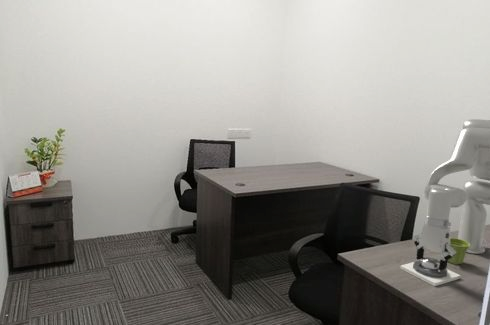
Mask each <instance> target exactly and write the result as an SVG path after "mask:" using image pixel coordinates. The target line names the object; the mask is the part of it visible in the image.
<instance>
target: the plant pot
mask: <svg viewBox="0 0 490 325" xmlns="http://www.w3.org/2000/svg"><path fill="white" fill-rule="evenodd" d="M450 246H451V247H452V248H453V249H454V250H455V251H456V254H455V255H454V256H453V258H451V259H449V260H448V262H449V263H451V264H454V265H459V264H460V265H462V264H463V262H464V259H465V258H466V253H467V252H466V251H467V249H468V247H469V246H470V243H468V242H466V241H464V240H461V239H458V237H457V238H454V237H450ZM447 254H448V255H449V254H450V252H447Z"/></svg>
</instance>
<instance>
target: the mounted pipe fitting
mask: <svg viewBox="0 0 490 325" xmlns="http://www.w3.org/2000/svg"><path fill="white" fill-rule="evenodd" d="M421 265H422V259H419V260H417V261H414V262H412V261H411V262H409V263H405V264H401V265H399V269H400V270H402V271H404V272H406V273H408V274H410V275H412V276H414V277H416V278H418V279H419V280H422V281H424V282H425V283H427V284H429V285H431V286H433V287H437V286H440V285H443V284H447V283H449V282H450V283H451V282H453V281H456V280H459V279H461V276H462V275H461V274H458V273H456V272H454V271H452V270H450V269H448V268H446V269H444V270H439V271H438V272H430V271H426V270H424V269H422V268H421Z"/></svg>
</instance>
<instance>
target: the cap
mask: <svg viewBox="0 0 490 325" xmlns="http://www.w3.org/2000/svg"><path fill="white" fill-rule="evenodd" d="M421 260H422V265H421V268H422V269H424V270H426V271H430V272H438V271H439V265H440V260H438V259H436V258H434V257H429V256H423V258H422V259H421Z"/></svg>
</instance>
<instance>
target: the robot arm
mask: <svg viewBox="0 0 490 325" xmlns="http://www.w3.org/2000/svg"><path fill="white" fill-rule="evenodd" d="M455 140H456V141H455V144H454V145H453V149H452V151H451V154H450V157H449V159H448V160H446V161H445V162H443V163H441V164H440V165H438V166H437V167H436V168H435V169H434V170H433V171H432V172H431V173H430V175H429V177H428V179H427V181H426V184H425V187H424V190H423V195H424V196H423V197H424V198H425V200H426V201H427V207H426V216H425V221H424V222H423V224H422V225H421V230H420V234H415V235H413V236H412V238H413V239H412V240H413V242H414V246H415V249H416V260H417V261H420V260H422V258H424V257H425V256H424V253H425V249H427V250H429V251H432V252H434V253H437V254H438V255H439V256H440V260H439V262H440V264H439V270H444V269H447V267H448V262H449V261H448V260H449V259H451V258H453V256H454V255H455V254H456V251H455V250H454V249H453V248H452V247H451V246H450V238H451V228H450V227H451V226H452V222H450V213H451V208H453V209H454V208H460V207H462V209H461V216H460V221H459V222H460V223H459V228H458V234H457V239H461V240H464V241H466V242H468V243H470V246H469V247H468V249H467V251H466V253H467V254H468V253H469V254H475V255H479V254H480V255H481V254H482V255H483V254H484V253H486V248H484V246H483V244H485V243H487V240H486V239H485V238H484V235H485V227H486V222H487V216H488V214H487V210H486V207H485V206H484V205H486V206H487V205H488V206H490V120H489V119H480V118H479V119H467V120H466V121H464V122H463V124H462V129H461V130H460V131H459V133H458V135H457V138H456V139H455ZM463 171H468V172H469V175H470V177H472V178H475V179H478V180H474V179H473V180H468V181H466V182H465V183H464V185H463V188H462V189H461V188H460V187H455V186H450V185H447V184H446V185H445V184H440V180H442V179H443V178H444V177H445V176H447V175H451V174H455V173H459V172H463ZM481 180H484V181H481ZM487 181H489V182H487ZM447 252H450V254H449V255H448V254H447Z"/></svg>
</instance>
